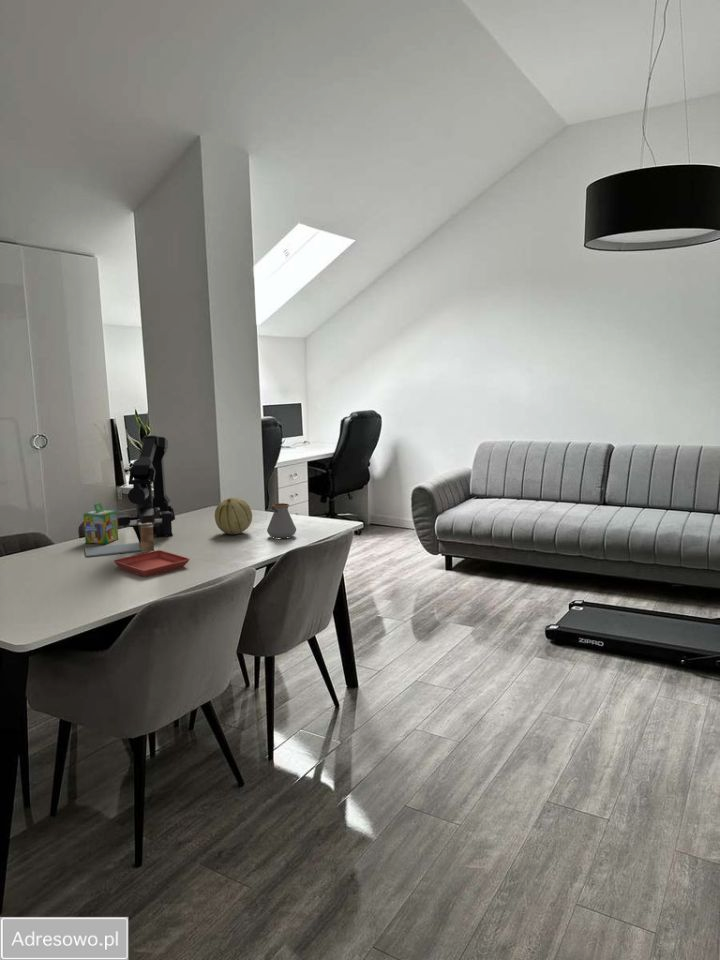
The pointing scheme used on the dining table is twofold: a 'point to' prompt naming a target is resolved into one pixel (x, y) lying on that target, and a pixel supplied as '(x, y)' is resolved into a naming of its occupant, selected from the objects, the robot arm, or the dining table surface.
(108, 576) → the dining table surface
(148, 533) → the block
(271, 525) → the coffee pot
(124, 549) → the mat
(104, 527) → the colorful printed box
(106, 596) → the dining table surface
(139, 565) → the plant saucer
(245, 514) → the cantaloupe
